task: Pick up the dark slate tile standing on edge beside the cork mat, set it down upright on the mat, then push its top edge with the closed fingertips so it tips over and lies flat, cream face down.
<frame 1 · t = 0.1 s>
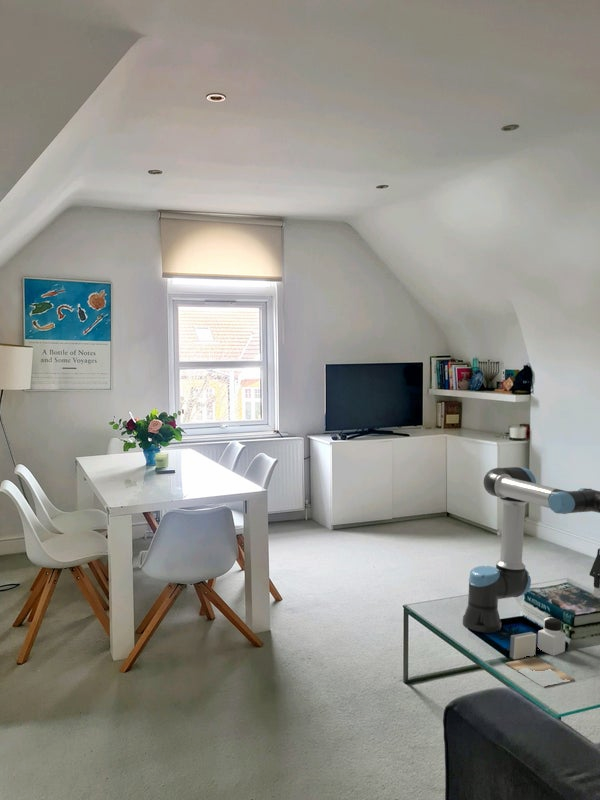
mat: (539, 672, 224), on the table
medicine bottle: (550, 651, 243), on the table
tile: (522, 656, 237), on the table
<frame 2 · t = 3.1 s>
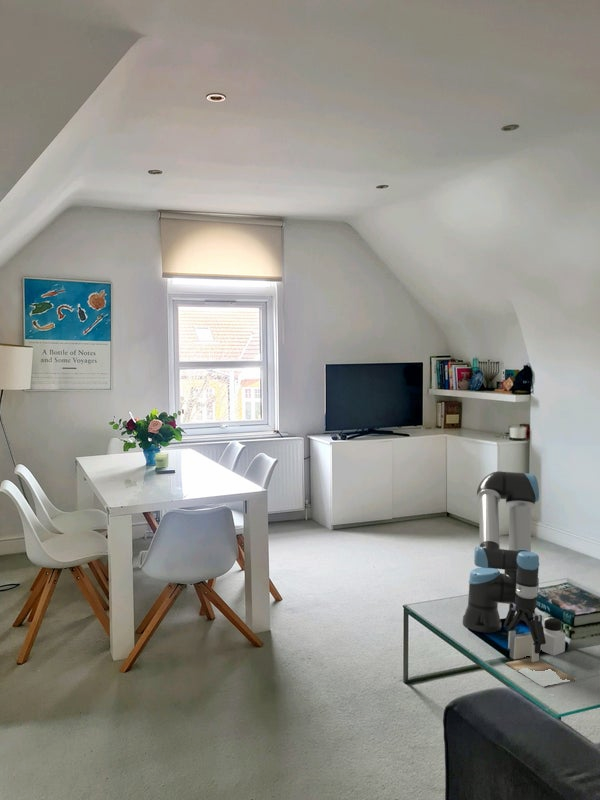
hand: (522, 654, 237), 1 cm above the table, fingers open, 11 cm apart
nothing on the table moved.
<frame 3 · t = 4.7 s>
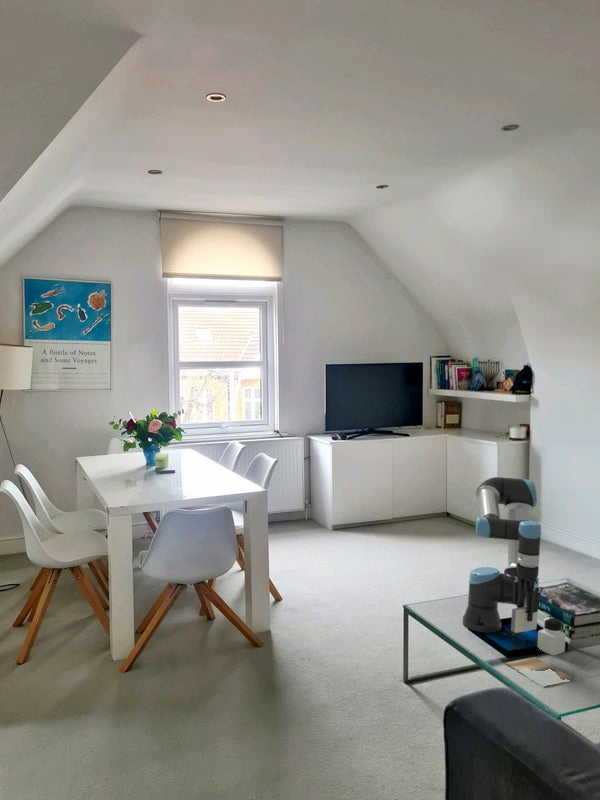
hand: (524, 627, 237), 11 cm above the table, fingers closed on tile, 2 cm apart
tile: (523, 629, 237), point 10 cm above the table, touching gripper
everything else where it was.
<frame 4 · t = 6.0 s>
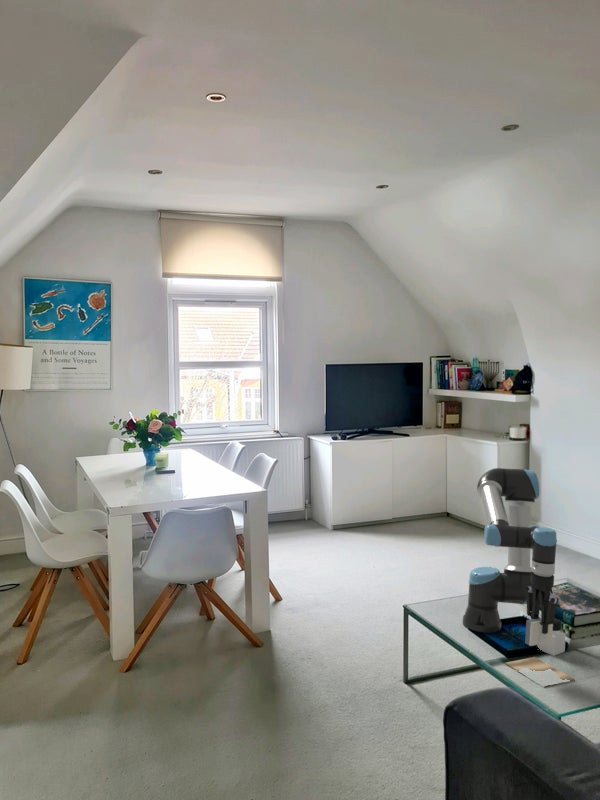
hand: (538, 640, 225), 11 cm above the table, fingers closed on tile, 2 cm apart
tile: (538, 642, 225), point 10 cm above the table, touching gripper
everything else where it was.
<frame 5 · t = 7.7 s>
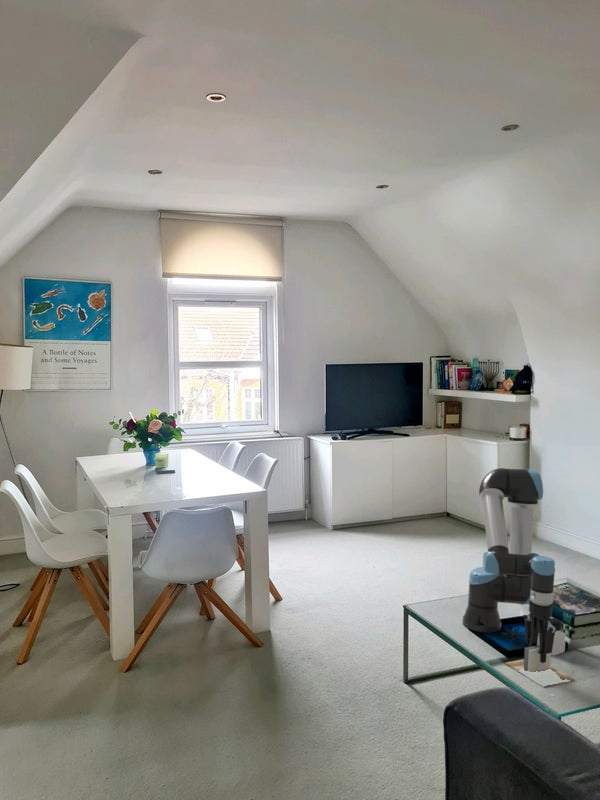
hand: (536, 668, 225), 1 cm above the table, fingers closed on tile, 2 cm apart
tile: (536, 669, 225), point 1 cm above the table, touching gripper, mat
everything else where it was.
when the fingers open (1 cm above the table, at t = 7.9 s): tile stays where it is, resting on mat.
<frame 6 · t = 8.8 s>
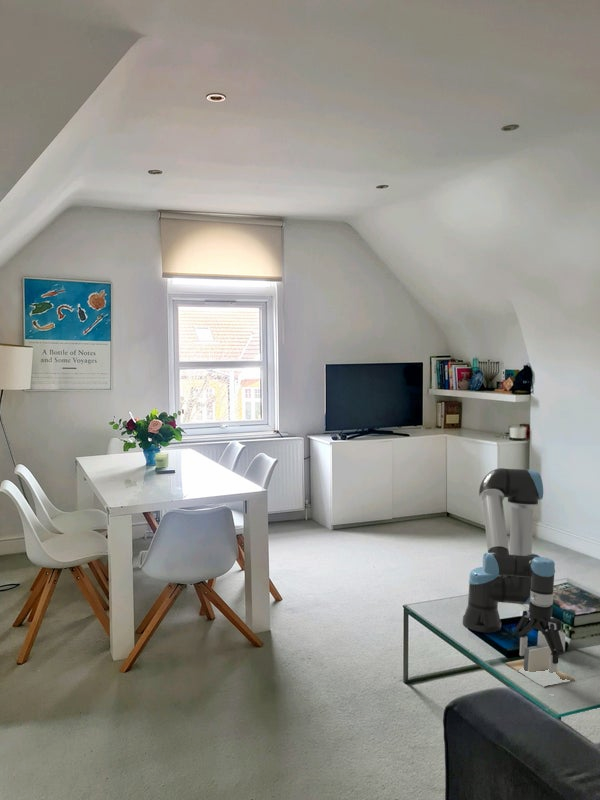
hand: (537, 663, 225), 3 cm above the table, fingers open, 13 cm apart
tile: (536, 669, 225), resting on mat
everything else where it was.
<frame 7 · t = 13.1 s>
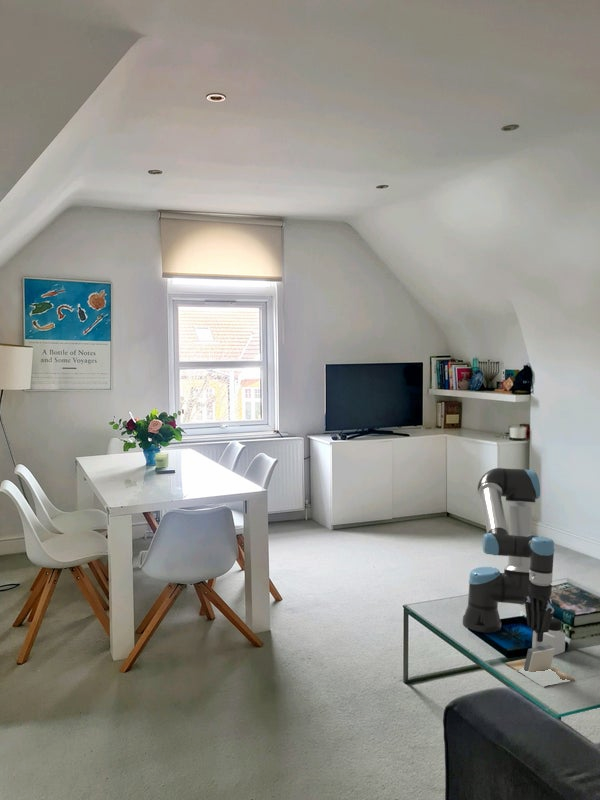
hand: (536, 649, 225), 7 cm above the table, fingers closed
tile: (536, 669, 225), point 1 cm above the table, tilted 11°, touching mat
everything else where it was.
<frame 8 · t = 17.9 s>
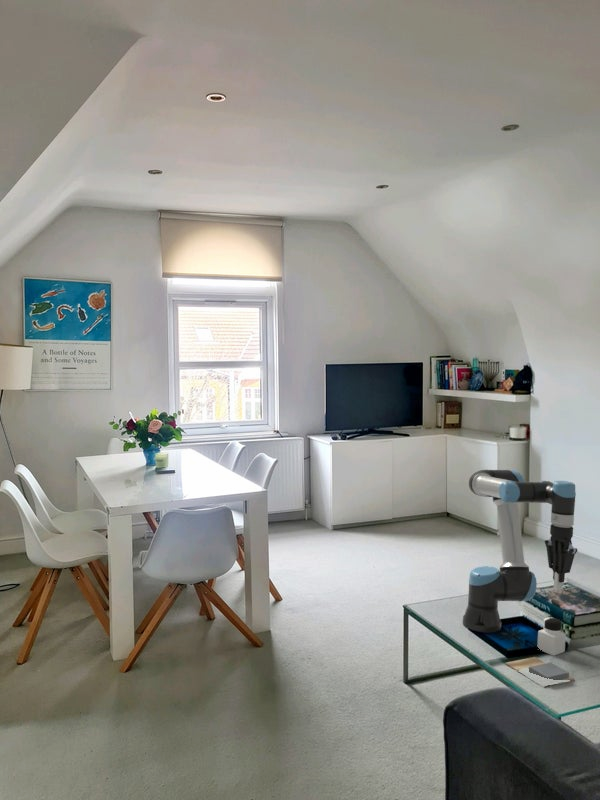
hand: (557, 590, 231), 26 cm above the table, fingers closed
tile: (539, 667, 224), point 2 cm above the table, tilted 90°, touching mat
everything else where it was.
at the end: tile tilted 90°; tile inside the target area (2.1 cm from its centre), point 1.7 cm above the table; the gripper is holding nothing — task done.
